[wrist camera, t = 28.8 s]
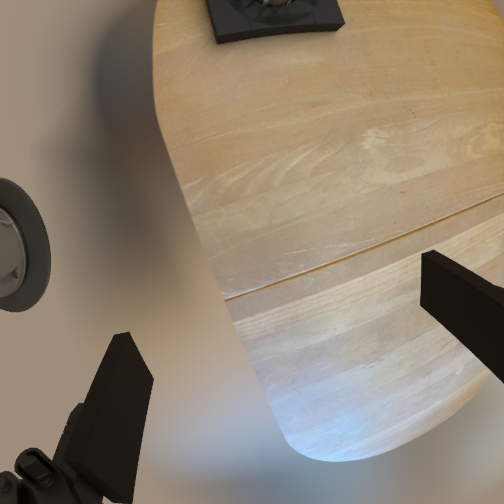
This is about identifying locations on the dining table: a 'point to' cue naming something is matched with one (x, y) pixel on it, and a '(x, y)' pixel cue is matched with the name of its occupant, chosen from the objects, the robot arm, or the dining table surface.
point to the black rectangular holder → (271, 18)
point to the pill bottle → (272, 3)
